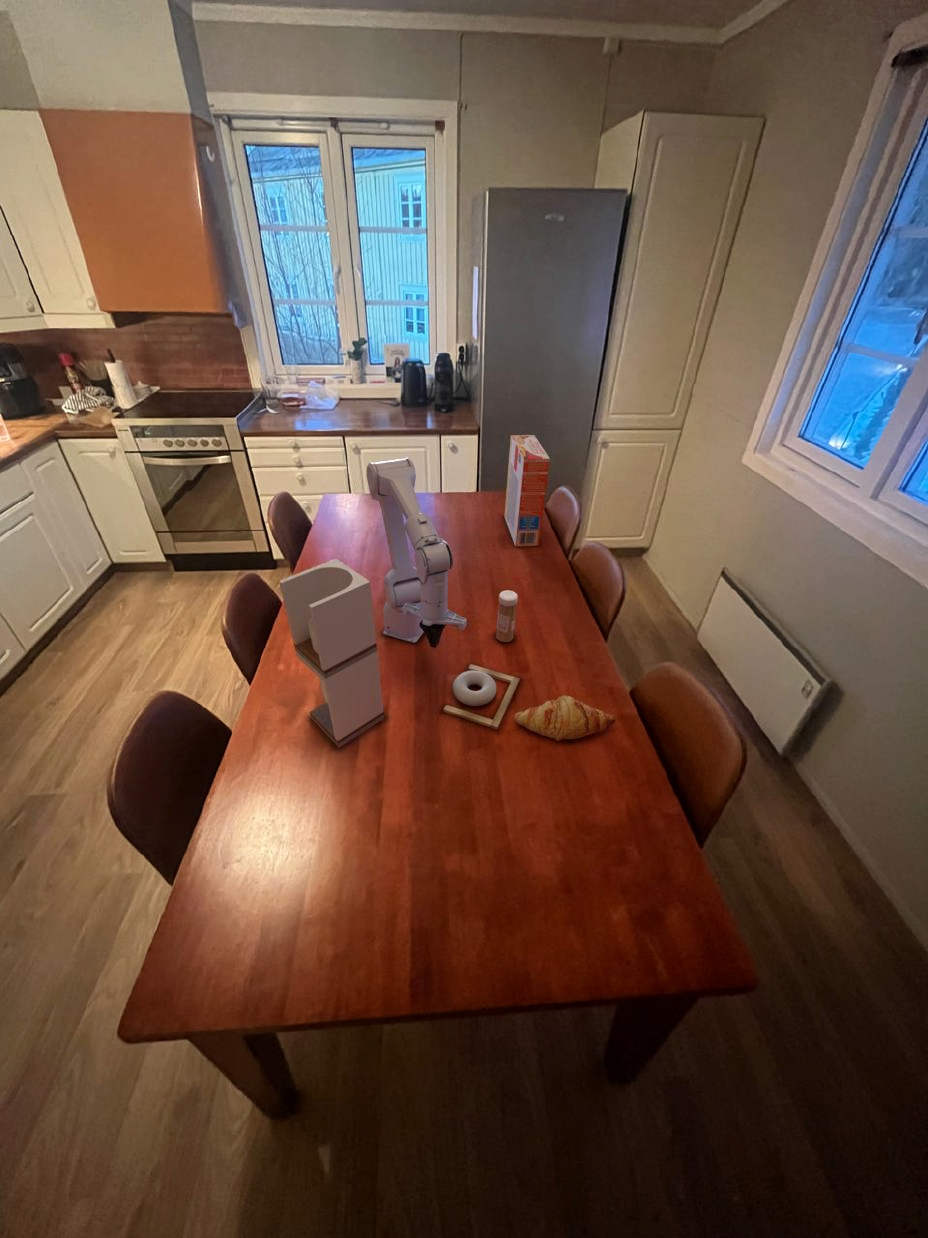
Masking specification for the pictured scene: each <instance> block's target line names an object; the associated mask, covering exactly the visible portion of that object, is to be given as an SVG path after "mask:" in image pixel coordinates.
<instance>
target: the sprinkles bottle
mask: <svg viewBox="0 0 928 1238" xmlns="http://www.w3.org/2000/svg"><path fill="white" fill-rule="evenodd" d="M518 598H519V597H518V593H516V592H515V591H513V590H509V589H507V590H502V591H501V592H500V593H499V595H498V610H497V624H496V635H495V637H496V639H497V640H498V641H499V642H502V643H509V642H511V641H513V639H514V630H515V622H516V611H517V609H516V608H517V603H518Z"/></svg>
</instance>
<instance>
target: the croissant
mask: <svg viewBox="0 0 928 1238" xmlns="http://www.w3.org/2000/svg"><path fill="white" fill-rule="evenodd" d="M514 721H515V722H516V723H517V724H518V725H520V726H523V727H525V728H526V729H528V730H529V731H531V732H533V733H537V734H538V735H541V736H543V737H548V738H551V739H554V740H555V741H557V742H558V741H562V740H573V739H574V740H577V739H581V738H584V737H587V736H590V735H592V734H595V733H598V732H602V731H605V730H606V729H608V728H609V727H611V725H613V724H615V722H616V718H615V715H614V714H612V713H609V714H608V713H605V712H604V711H603V710H602V709H601V710H600V709H598V708H595V707H594V708H593V707H591V706H590V705H588V704H586V703H584V701H582V700H577V699H576V698H574V697H573V696H569V695H566V694H565V695H560V696H559V697H557V699H549V700H546V701H545V702H544V703H543V704H542V705H537V706H530V707H528V708H527V709H526V710H524V711H518V712H517V713H515V714H514Z"/></svg>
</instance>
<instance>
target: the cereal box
mask: <svg viewBox="0 0 928 1238" xmlns="http://www.w3.org/2000/svg"><path fill="white" fill-rule="evenodd" d="M508 454H509V455H508V465H507V478H506V479H507V480H506V491H505V504H504V515H503V518H504V520H505V523H506V525H507V528H508V531H509V533H510V535H511V538H512V541H513V544H514V547H539V546H540V539H541V532H542V531H541V530H542V524H543V516H544V507H545V501H546V492H547V486H548V478H549V472H550V471H549V470H550V461H551V458H550V457H549V455H548V453H547V452H546V450H545V449H544V448H543V446H542V445H541V443H540V441H539V439H538V438H537V437H536V435H535V434H511V435H510V441H509V453H508Z"/></svg>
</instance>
